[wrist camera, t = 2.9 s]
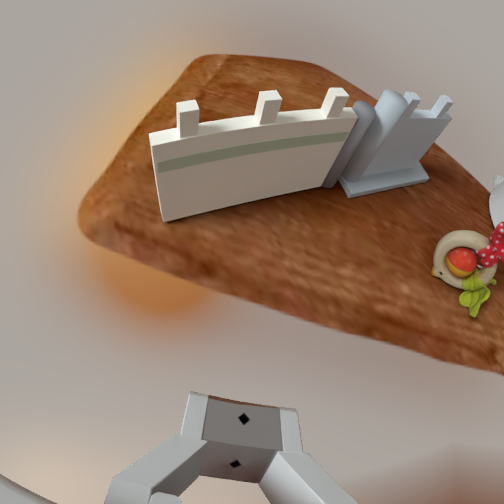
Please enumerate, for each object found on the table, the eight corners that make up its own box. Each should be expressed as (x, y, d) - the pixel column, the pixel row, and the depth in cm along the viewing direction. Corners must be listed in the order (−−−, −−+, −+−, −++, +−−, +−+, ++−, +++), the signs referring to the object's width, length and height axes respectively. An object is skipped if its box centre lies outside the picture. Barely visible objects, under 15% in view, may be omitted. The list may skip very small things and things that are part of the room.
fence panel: (329, 171, 34) (376, 84, 22) (338, 186, 33) (390, 100, 22) (159, 207, 29) (145, 103, 18) (164, 226, 28) (149, 124, 17)
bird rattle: (416, 302, 31) (486, 327, 27) (444, 239, 23) (533, 272, 19) (428, 258, 34) (493, 281, 30) (452, 189, 25) (531, 219, 21)
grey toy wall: (406, 151, 38) (454, 85, 27) (426, 181, 36) (481, 118, 25) (327, 161, 35) (372, 76, 23) (348, 198, 33) (405, 115, 22)
